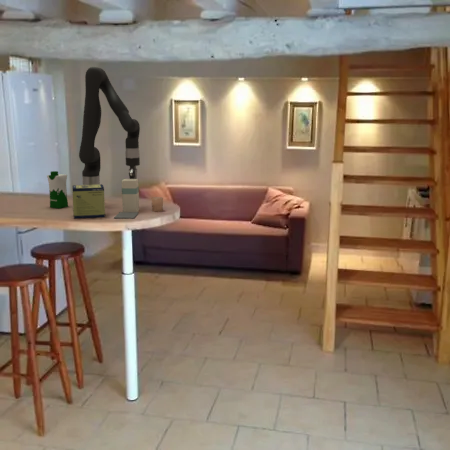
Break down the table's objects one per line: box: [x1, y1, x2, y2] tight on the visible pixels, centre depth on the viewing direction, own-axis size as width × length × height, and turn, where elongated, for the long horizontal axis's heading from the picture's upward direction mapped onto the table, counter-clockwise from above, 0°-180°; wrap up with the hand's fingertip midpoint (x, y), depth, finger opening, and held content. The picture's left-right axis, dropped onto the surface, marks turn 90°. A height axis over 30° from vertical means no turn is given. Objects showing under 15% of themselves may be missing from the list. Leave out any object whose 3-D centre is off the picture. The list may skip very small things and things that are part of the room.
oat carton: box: [121, 178, 140, 212], centre depth 283 cm, size 8×8×17 cm
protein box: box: [72, 183, 106, 220], centre depth 270 cm, size 10×16×16 cm
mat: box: [113, 211, 140, 220], centre depth 273 cm, size 10×14×1 cm
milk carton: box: [46, 170, 69, 209], centre depth 294 cm, size 9×9×20 cm
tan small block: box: [151, 196, 164, 213], centre depth 286 cm, size 6×6×7 cm
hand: (133, 188), depth 291 cm, fingers closed
